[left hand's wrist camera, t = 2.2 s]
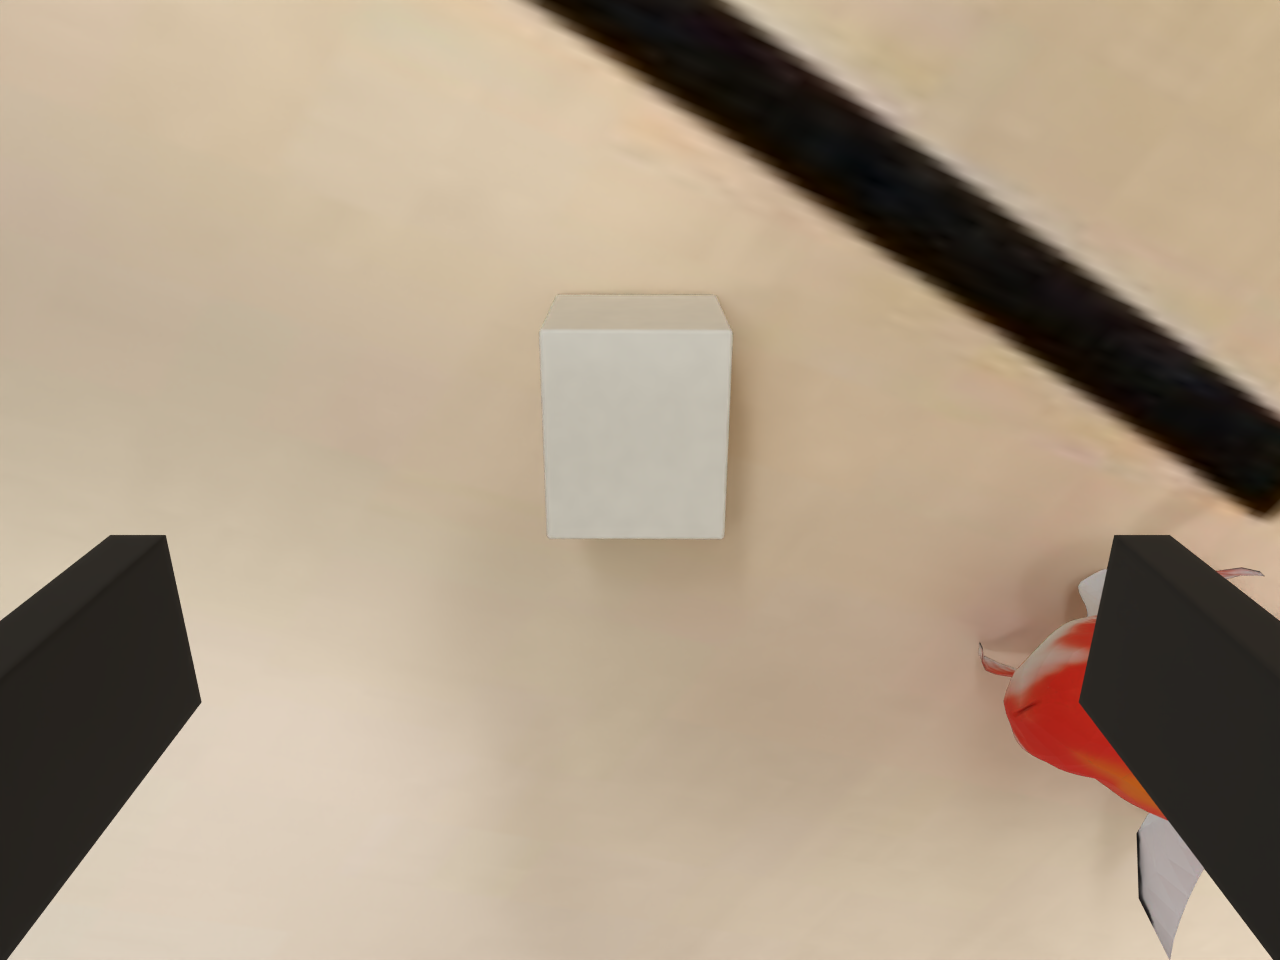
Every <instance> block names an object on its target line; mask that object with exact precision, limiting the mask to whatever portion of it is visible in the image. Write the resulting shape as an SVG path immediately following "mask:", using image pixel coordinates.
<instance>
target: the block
mask: <svg viewBox="0 0 1280 960" xmlns="http://www.w3.org/2000/svg"><path fill="white" fill-rule="evenodd" d="M539 346H540V372H541V398H542V425H543V451H544V477H545V503H546V529H547V537H548V538H550V539H723V537H724V535H725V511H726V488H727V464H728V441H729V417H730V394H731V370H732V347H733V332H732V329H731V327H730V325H729V323H728V320H727V318H726V316H725V314H724V312H723V309H722V307H721V305H720V303H719V301H718V298H717V296H715V295H610V294H558V295H556V297H555V299H554V301H553V303H552V305H551V308H550V310H549V312H548V314H547V316H546V318H545V320H544V323H543V325H542V327H541V329H540V331H539Z"/></svg>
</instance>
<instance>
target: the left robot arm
mask: <svg viewBox="0 0 1280 960" xmlns="http://www.w3.org/2000/svg"><path fill="white" fill-rule="evenodd" d="M200 704H201V698H200V693H199V688H198V684H197V679H196V674H195V670H194V665H193V660H192V656H191V651H190V646H189V642H188V637H187V632H186V628H185V623H184V618H183V614H182V609H181V604H180V600H179V595H178V590H177V586H176V581H175V576H174V572H173V567H172V562H171V558H170V553H169V548H168V544H167V539H166V535H110V536H109V537H107V538H106V539H105V540H103V541H102V542H101V543H100V544H98V545H97V546H96V547H95V548H93V549H92V550H91V551H89V552H88V553H87V554H86V555H84V556H83V557H82V558H80V559H79V560H78V561H77V562H75V563H74V564H73V565H71V566H70V567H69V568H68V569H66V570H65V571H64V572H62V573H61V574H60V575H59V576H57V577H56V578H55V579H53V580H52V581H51V582H50V583H48V584H47V585H46V586H44V587H43V588H42V589H41V590H39V591H38V592H37V593H36V594H34V595H33V596H32V597H30V598H29V599H28V600H27V601H25V602H24V603H23V604H21V605H20V606H19V607H18V608H16V609H15V610H14V611H12V612H11V613H10V614H9V615H7V616H6V617H5V618H3V619H2V620H1V621H0V960H7V959H8V957H9V956H10V955H11V953H12V952H13V951H14V950H15V948H16V947H17V946H18V944H19V943H20V942H21V940H22V939H23V938H24V936H25V935H26V934H27V932H28V931H29V930H30V928H31V927H32V926H33V924H34V923H35V922H36V920H37V919H38V918H39V916H40V915H41V914H42V912H43V911H44V910H45V909H46V907H47V906H48V905H49V903H50V902H51V901H52V899H53V898H54V897H55V895H56V894H57V893H58V891H59V890H60V889H61V887H62V886H63V885H64V883H65V882H66V881H67V879H68V878H69V877H70V875H71V874H72V873H73V871H74V870H75V869H76V868H77V866H78V865H79V864H80V862H81V861H82V860H83V858H84V857H85V856H86V854H87V853H88V852H89V850H90V849H91V848H92V846H93V845H94V844H95V842H96V841H97V840H98V838H99V837H100V836H101V834H102V833H103V832H104V830H105V829H106V828H107V827H108V825H109V824H110V823H111V821H112V820H113V819H114V817H115V816H116V815H117V813H118V812H119V811H120V809H121V808H122V807H123V805H124V804H125V803H126V801H127V800H128V799H129V797H130V796H131V795H132V793H133V792H134V791H135V789H136V788H137V787H138V786H139V784H140V783H141V782H142V780H143V779H144V778H145V776H146V775H147V774H148V772H149V771H150V770H151V768H152V767H153V766H154V764H155V763H156V762H157V760H158V759H159V758H160V756H161V755H162V754H163V752H164V751H165V750H166V748H167V747H168V746H169V745H170V743H171V742H172V741H173V739H174V738H175V737H176V735H177V734H178V733H179V731H180V730H181V729H182V727H183V726H184V725H185V723H186V722H187V721H188V719H189V718H190V717H191V715H192V714H193V713H194V711H195V710H196V709H197V707H198V706H199V705H200ZM1079 704H1080V705H1081V706H1082V707H1083V709H1084V710H1085V711H1086V713H1087V714H1088V715H1089V717H1090V718H1091V719H1092V721H1093V722H1094V723H1095V725H1096V726H1097V727H1098V729H1099V730H1100V731H1101V733H1102V734H1103V735H1104V737H1105V738H1106V739H1107V741H1108V742H1109V743H1110V745H1111V746H1112V747H1113V748H1114V750H1115V751H1116V752H1117V754H1118V755H1119V756H1120V758H1121V759H1122V760H1123V762H1124V763H1125V764H1126V766H1127V767H1128V768H1129V770H1130V771H1131V772H1132V774H1133V775H1134V776H1135V778H1136V779H1137V780H1138V782H1139V783H1140V784H1141V786H1142V787H1143V788H1144V789H1145V791H1146V792H1147V793H1148V795H1149V796H1150V797H1151V799H1152V800H1153V801H1154V803H1155V804H1156V805H1157V807H1158V808H1159V809H1160V811H1161V812H1162V813H1163V815H1164V816H1165V817H1166V819H1167V820H1168V821H1169V823H1170V824H1171V825H1172V827H1173V828H1174V829H1175V830H1176V832H1177V833H1178V834H1179V836H1180V837H1181V838H1182V840H1183V841H1184V842H1185V844H1186V845H1187V846H1188V848H1189V849H1190V850H1191V852H1192V853H1193V854H1194V856H1195V857H1196V858H1197V860H1198V861H1199V862H1200V864H1201V865H1202V866H1203V868H1204V869H1205V870H1206V871H1207V873H1208V874H1209V875H1210V877H1211V878H1212V879H1213V881H1214V882H1215V883H1216V885H1217V886H1218V887H1219V889H1220V890H1221V891H1222V893H1223V894H1224V895H1225V897H1226V898H1227V899H1228V901H1229V902H1230V903H1231V905H1232V906H1233V907H1234V909H1235V910H1236V911H1237V912H1238V914H1239V915H1240V916H1241V918H1242V919H1243V920H1244V922H1245V923H1246V924H1247V926H1248V927H1249V928H1250V930H1251V931H1252V932H1253V934H1254V935H1255V936H1256V938H1257V939H1258V940H1259V942H1260V943H1261V944H1262V946H1263V947H1264V948H1265V950H1266V951H1267V952H1268V954H1269V955H1270V956H1271V957H1272V959H1273V960H1280V621H1279V620H1278V619H1277V618H1275V617H1274V616H1273V615H1271V614H1270V613H1269V612H1268V611H1266V610H1265V609H1264V608H1262V607H1261V606H1260V605H1259V604H1257V603H1256V602H1255V601H1253V600H1252V599H1251V598H1250V597H1248V596H1247V595H1246V594H1244V593H1243V592H1242V591H1241V590H1239V589H1238V588H1237V587H1236V586H1234V585H1233V584H1232V583H1230V582H1229V581H1228V580H1227V579H1225V578H1224V577H1223V576H1221V575H1220V574H1219V573H1218V572H1216V571H1215V570H1214V569H1212V568H1211V567H1210V566H1209V565H1207V564H1206V563H1205V562H1203V561H1202V560H1201V559H1200V558H1198V557H1197V556H1196V555H1194V554H1193V553H1192V552H1191V551H1189V550H1188V549H1187V548H1185V547H1184V546H1183V545H1182V544H1180V543H1179V542H1178V541H1177V540H1175V539H1174V538H1173V537H1171V536H1170V535H1114V539H1113V544H1112V548H1111V553H1110V558H1109V562H1108V567H1107V572H1106V576H1105V581H1104V586H1103V590H1102V595H1101V600H1100V604H1099V609H1098V614H1097V618H1096V623H1095V628H1094V632H1093V637H1092V642H1091V646H1090V651H1089V656H1088V660H1087V665H1086V670H1085V674H1084V679H1083V684H1082V688H1081V693H1080V698H1079Z"/></svg>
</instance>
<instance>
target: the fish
mask: <svg viewBox="0 0 1280 960" xmlns="http://www.w3.org/2000/svg"><path fill="white" fill-rule="evenodd" d="M1106 572H1107V569H1103V570H1100V571H1098V572H1096V573H1094V574H1093V575H1091V576H1089V577H1088V578H1086V579H1084V580H1083V581H1081V582H1080V584H1079V586H1078V590H1079V593H1080V595H1081V598H1082V600H1083V602H1084V604H1085V605H1086V609H1087V617H1085V618H1080V619H1076V620H1072V621H1070V622H1067V623H1065V624H1064V625H1062V626H1061V627H1059V628H1058V629H1057V630H1055V631H1054V632H1053V633H1052V634H1051V635H1050V636H1049V637H1048V638H1047V639H1046V640H1045V641H1043V642H1042V643H1041V644H1040V646H1039V647H1038V648H1037V649H1036V650H1035V651H1034V652H1033V653H1032V654H1031V655H1030V656H1029V657H1028V658H1027V659H1026V660H1025V661H1024V662H1023V663H1022V664H1021V665H1020V666H1019V667H1018V669H1015V668H1012V667H1009V666H1006V665H1003V664H1000V663H998V662H996V661H994V660H991V659H989V658H987V657H985V656H983V648H982V646H981V643H979V652H978V654H979V656H980V658H981V659H982V663H983V666H984V668H985V670H986V671H988V672H991V673H993V674H996V675H1002V676H1010V677H1012V678H1011V680H1010V683H1009V685H1008V688H1007V691H1006V694H1005V698H1004V705H1005V710H1006V714H1007V717H1008V719H1009V722H1010V724H1011V727H1012V731H1013V734H1014V736H1015V738H1016V740H1017V742H1018V743H1019V745H1020V746H1021V747H1022V748H1023V749H1024V750H1026V751H1027V752H1028V753H1030V754H1031V755H1033V756H1035V757H1037V758H1038V759H1041V760H1043V761H1045V762H1047V763H1049V764H1051V765H1053V766H1055V767H1057V768H1058V769H1061V770H1064V771H1066V772H1069V773H1073V774H1077V775H1081V776H1086V777H1091V778H1095V779H1096V780H1098V781H1099V782H1101V783H1102V784H1104V785H1105V786H1106V787H1108V788H1109V789H1110V790H1112V791H1113V792H1114V793H1116V794H1117V795H1119V796H1120V797H1121V798H1123V799H1124V800H1126V801H1128V802H1129V803H1131V804H1133V805H1135V806H1137V807H1139V808H1141V809H1143V810H1145V811H1147V812H1149V814H1148V815H1147V817H1146V818H1145V820H1144V822H1143V824H1142V825H1141V827H1140V829H1139V830H1138V832H1137V858H1138V889H1139V900H1140V902H1141V904H1142V906H1143V908H1144V910H1145V912H1146V914H1147V916H1148V918H1149V920H1150V922H1151V924H1152V926H1153V928H1154V930H1155V932H1156V934H1157V936H1158V938H1159V940H1160V942H1161V944H1162V946H1163V948H1164V950H1165V952H1166V954H1167V956H1168V958H1169V960H1170V957H1171V952H1172V946H1173V941H1174V937H1175V934H1176V931H1177V928H1178V925H1179V922H1180V919H1181V916H1182V914H1183V911H1184V909H1185V906H1186V904H1187V901H1188V899H1189V897H1190V895H1191V893H1192V891H1193V888H1194V886H1195V884H1196V882H1197V880H1198V878H1199V877H1200V875H1201V873H1202V871H1203V870H1204V868H1203V866H1202V865H1201V864H1200V862H1199V861H1198V860H1197V858H1196V857H1195V856H1194V854H1193V853H1192V852H1191V850H1190V849H1189V848H1188V846H1187V845H1186V844H1185V842H1184V841H1183V840H1182V838H1181V837H1180V836H1179V834H1178V833H1177V832H1176V830H1175V829H1174V828H1173V827H1172V825H1171V824H1170V823H1169V821H1168V820H1167V819H1166V817H1165V816H1164V815H1163V813H1162V812H1161V811H1160V809H1159V808H1158V807H1157V805H1156V804H1155V803H1154V801H1153V800H1152V799H1151V797H1150V796H1149V795H1148V793H1147V792H1146V791H1145V789H1144V788H1143V787H1142V786H1141V784H1140V783H1139V782H1138V780H1137V779H1136V778H1135V776H1134V775H1133V774H1132V772H1131V771H1130V770H1129V768H1128V767H1127V766H1126V764H1125V763H1124V762H1123V760H1122V759H1121V758H1120V756H1119V755H1118V754H1117V752H1116V751H1115V750H1114V748H1113V747H1112V746H1111V745H1110V743H1109V742H1108V741H1107V739H1106V738H1105V737H1104V735H1103V734H1102V733H1101V731H1100V730H1099V729H1098V727H1097V726H1096V725H1095V723H1094V722H1093V721H1092V719H1091V718H1090V717H1089V715H1088V714H1087V713H1086V711H1085V710H1084V709H1083V707H1082V706H1081V705H1080V704H1079V698H1080V693H1081V688H1082V684H1083V679H1084V674H1085V670H1086V665H1087V660H1088V656H1089V651H1090V646H1091V642H1092V637H1093V632H1094V628H1095V623H1096V618H1097V614H1098V609H1099V604H1100V600H1101V595H1102V590H1103V586H1104V581H1105V576H1106ZM1216 572H1218V573H1219V574H1220V575H1221V576H1223V577H1224V578H1225V579H1229V578H1233V577H1236V576H1240V575H1258V576H1264V575H1263V574H1262V573H1261V572H1260V571H1255V570H1251V569H1246V568H1234V569H1227V570H1220V571H1216Z"/></svg>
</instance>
